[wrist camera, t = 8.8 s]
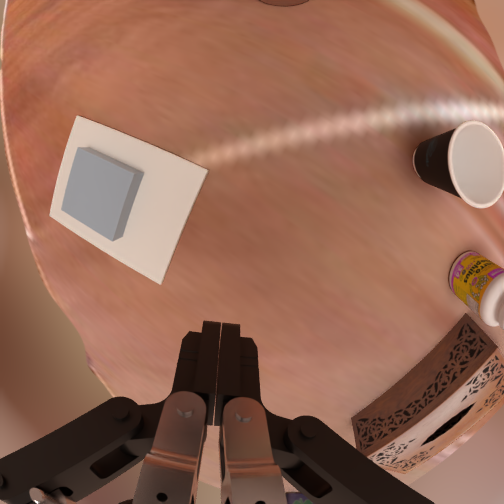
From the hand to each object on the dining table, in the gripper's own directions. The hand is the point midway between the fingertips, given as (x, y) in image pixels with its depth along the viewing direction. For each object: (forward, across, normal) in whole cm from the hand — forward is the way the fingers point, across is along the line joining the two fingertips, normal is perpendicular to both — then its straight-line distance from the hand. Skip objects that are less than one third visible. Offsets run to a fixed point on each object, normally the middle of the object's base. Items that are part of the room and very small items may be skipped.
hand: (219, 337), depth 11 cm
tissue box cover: (+13, -36, +24) cm, 46 cm away
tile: (+23, +13, +3) cm, 26 cm away
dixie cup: (+20, -22, -9) cm, 32 cm away
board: (+25, +16, +2) cm, 30 cm away
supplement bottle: (+17, -33, +3) cm, 37 cm away
